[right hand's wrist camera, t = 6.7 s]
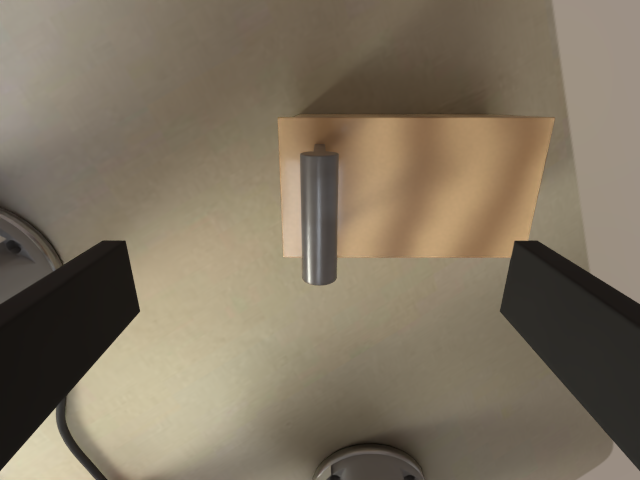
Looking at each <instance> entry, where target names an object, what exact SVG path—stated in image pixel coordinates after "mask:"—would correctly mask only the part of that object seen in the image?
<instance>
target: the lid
mask: <svg viewBox="0 0 640 480" xmlns="http://www.w3.org/2000/svg"><path fill="white" fill-rule="evenodd" d="M554 121H555V118H554V117H278V138H279V164H280V189H281V214H282V239H283V257H302V278H303V280H304V281H305V282H306V283H308V284H312V285H327V284H331V283H333V282H334V281H335V280H336V278H337V257H511V255H512V251H513V246H514V241H528V238H529V234H530V229H531V225H532V220H533V216H534V211H535V206H536V202H537V197H538V193H539V188H540V184H541V179H542V175H543V170H544V166H545V161H546V157H547V152H548V148H549V143H550V139H551V134H552V130H553V125H554Z"/></svg>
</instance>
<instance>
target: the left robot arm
mask: <svg viewBox="0 0 640 480" xmlns="http://www.w3.org/2000/svg"><path fill="white" fill-rule="evenodd" d="M313 480H424V476H423V473H422V470H421V468H420V466H419V465H418V463H417V462H416V461H415V460H414V459H413V458H412V457H411V456H409V455H408V454H407V453H405V452H403V451H401V450H399V449H396V448H393V447H390V446H385V445H379V444H363V445H356V446H351V447H347V448H345V449H342V450H340V451H337V452H335V453H334V454H332V455H330V456H329V457H328V458H326V459H325V460H324V461H323V462H322V463H321V464H320V465H319V467H318V468H317V470H316V472H315V474H314V476H313Z"/></svg>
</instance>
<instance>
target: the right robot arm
mask: <svg viewBox="0 0 640 480" xmlns="http://www.w3.org/2000/svg"><path fill="white" fill-rule="evenodd" d="M139 312H140V309H139V304H138V299H137V294H136V289H135V284H134V280H133V275H132V270H131V265H130V260H129V255H128V251H127V246H126V241H101V242H100V243H98V244H97V245H95V246H93V247H92V248H90V249H89V250H87V251H85V252H84V253H82V254H80V255H79V256H77V257H76V258H74V259H72V260H71V261H69V262H68V263H66V264H64V265H63V266H62V263H61V261H60V259H59V257H58V255H57V253H56V252H55V250H54V249H53V247H52V246H51V244H50V243H49V242H48V241H47V240H46V238H45V237H44V236H43V235H42V234H41V233H40V232H39V231H38V230H37V229H35V228H34V227H33V226H32V225H31V224H29V223H28V222H27V221H25V220H24V219H22V218H21V217H19V216H17V215H15V214H14V213H12V212H10V211H8V210H5V209H3V208H0V471H1V469H2V468H3V467H4V466H5V465H6V464H7V463H8V461H9V460H10V459H11V458H12V457H13V456H14V455H15V453H16V452H17V451H18V450H19V449H20V448H21V447H22V445H23V444H24V443H25V442H26V441H27V440H28V439H29V438H30V436H31V435H32V434H33V433H34V432H35V431H36V430H37V428H38V427H39V426H40V425H41V424H42V423H43V422H44V420H45V419H46V418H47V417H48V416H49V415H50V414H51V412H52V411H53V410H54V409H55V408H56V421H57V426H58V429H59V432H60V434H61V436H62V438H63V440H64V442H65V444H66V445H67V447H68V448H69V449H70V451H71V452H72V453H73V455H74V456H75V457H76V458H77V459H78V460H79V461H80V463H81V464H82V465H83V466H84V467H85V468H86V469H87V470H88V471H89V473H90V474H91V475H92V476H93V477H94V478H95V479H96V480H107V479H106V478H105V476H104V475H103V474H102V473H101V472H100V471H99V470H98V468H97V467H96V466H95V465H94V464H93V463H92V462H91V460H90V459H89V458H88V457H87V456H86V455H85V454H84V453H83V451H82V450H81V449H80V448H79V446H78V445H77V444H76V442H75V441H74V439H73V437H72V436H71V434H70V432H69V430H68V427H67V424H66V420H65V402H66V395H67V394H68V393H69V392H70V391H71V390H72V388H73V387H74V386H75V385H76V384H77V383H78V382H79V380H80V379H81V378H82V377H83V376H84V375H85V374H86V372H87V371H88V370H89V369H90V368H91V367H92V366H93V364H94V363H95V362H96V361H97V360H98V359H99V358H100V357H101V355H102V354H103V353H104V352H105V351H106V350H107V349H108V347H109V346H110V345H111V344H112V343H113V342H114V341H115V339H116V338H117V337H118V336H119V335H120V334H121V333H122V331H123V330H124V329H125V328H126V327H127V326H128V325H129V323H130V322H131V321H132V320H133V319H134V318H135V317H136V315H137V314H138V313H139ZM500 312H501V313H502V314H503V315H504V317H505V318H506V319H507V320H508V321H509V322H510V323H511V325H512V326H513V327H514V328H515V329H516V330H517V331H518V333H519V334H520V335H521V336H522V337H523V338H524V339H525V341H526V342H527V343H528V344H529V345H530V346H531V347H532V349H533V350H534V351H535V352H536V353H537V354H538V355H539V357H540V358H541V359H542V360H543V361H544V362H545V363H546V365H547V366H548V367H549V368H550V369H551V370H552V371H553V372H554V374H555V375H556V376H557V377H558V378H559V379H560V380H561V382H562V383H563V384H564V385H565V386H566V387H567V388H568V390H569V391H570V392H571V393H572V394H573V395H574V396H575V398H576V399H577V400H578V401H579V402H580V403H581V404H582V406H583V407H584V408H585V409H586V410H587V411H588V412H589V414H590V415H591V416H592V417H593V418H594V419H595V420H596V422H597V423H598V424H599V425H600V426H601V427H602V428H603V430H604V431H605V432H606V433H607V434H608V435H609V436H610V438H611V439H612V440H613V441H614V442H615V443H616V444H617V445H618V447H619V448H620V449H621V450H622V451H623V452H624V453H625V455H626V456H627V457H628V458H629V459H630V460H631V461H632V463H633V464H634V465H635V466H636V467H637V468H638V469H639V471H640V304H639V303H637V302H635V301H634V300H632V299H631V298H629V297H627V296H626V295H624V294H622V293H621V292H619V291H618V290H616V289H614V288H613V287H611V286H610V285H608V284H606V283H605V282H603V281H601V280H600V279H598V278H597V277H595V276H593V275H592V274H590V273H589V272H587V271H585V270H584V269H582V268H581V267H579V266H577V265H576V264H574V263H572V262H571V261H569V260H568V259H566V258H564V257H563V256H561V255H560V254H558V253H556V252H555V251H553V250H551V249H550V248H548V247H547V246H545V245H543V244H542V243H540V242H539V241H514V246H513V251H512V255H511V260H510V265H509V270H508V275H507V280H506V284H505V289H504V294H503V299H502V304H501V309H500Z"/></svg>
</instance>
